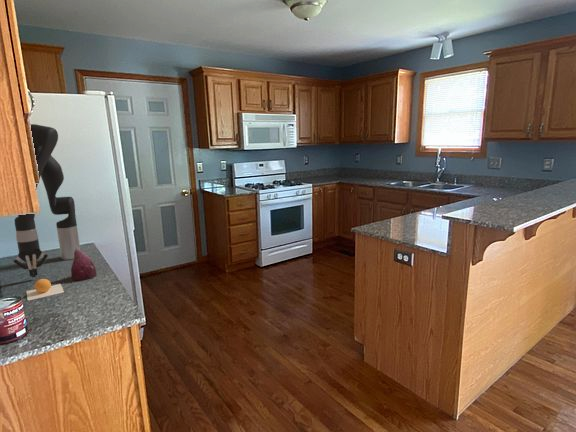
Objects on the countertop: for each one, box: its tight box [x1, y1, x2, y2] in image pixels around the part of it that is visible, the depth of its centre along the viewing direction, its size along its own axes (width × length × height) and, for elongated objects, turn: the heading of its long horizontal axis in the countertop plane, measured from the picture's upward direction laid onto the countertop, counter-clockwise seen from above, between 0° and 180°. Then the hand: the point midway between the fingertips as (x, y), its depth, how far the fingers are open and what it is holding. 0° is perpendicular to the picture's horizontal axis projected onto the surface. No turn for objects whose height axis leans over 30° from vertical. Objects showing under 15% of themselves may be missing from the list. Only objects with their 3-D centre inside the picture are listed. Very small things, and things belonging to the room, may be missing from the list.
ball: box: [34, 278, 52, 293], centre depth 142 cm, size 6×6×6 cm
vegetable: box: [70, 248, 97, 282], centre depth 158 cm, size 10×10×15 cm
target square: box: [26, 283, 65, 302], centre depth 142 cm, size 12×12×1 cm
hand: (33, 276), depth 157 cm, fingers closed
